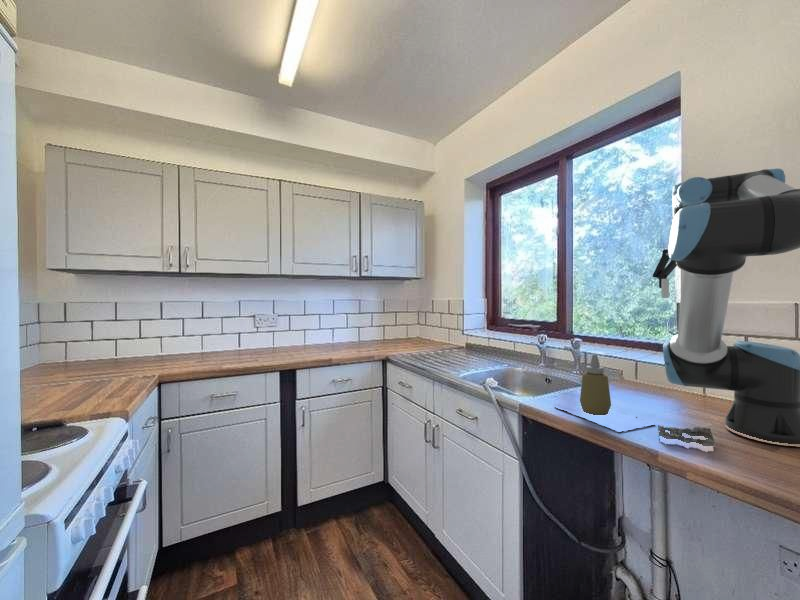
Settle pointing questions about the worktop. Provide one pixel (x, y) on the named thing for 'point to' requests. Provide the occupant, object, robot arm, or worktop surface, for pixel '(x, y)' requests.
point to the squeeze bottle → (595, 389)
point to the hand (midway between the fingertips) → (687, 298)
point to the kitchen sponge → (697, 431)
